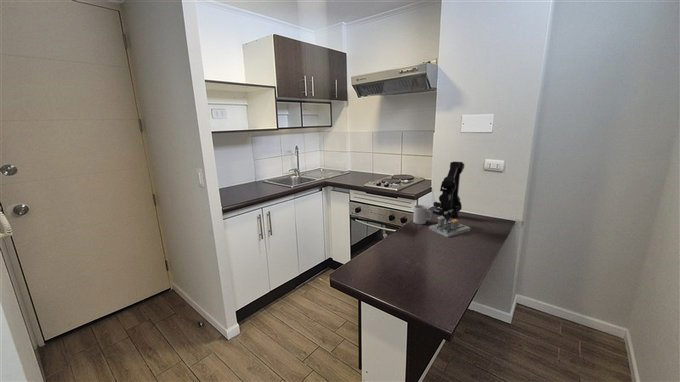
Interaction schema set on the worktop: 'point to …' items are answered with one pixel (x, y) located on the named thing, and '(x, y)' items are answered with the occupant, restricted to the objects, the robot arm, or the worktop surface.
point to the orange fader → (454, 224)
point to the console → (449, 229)
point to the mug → (421, 214)
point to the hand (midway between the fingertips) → (445, 222)
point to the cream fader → (441, 221)
